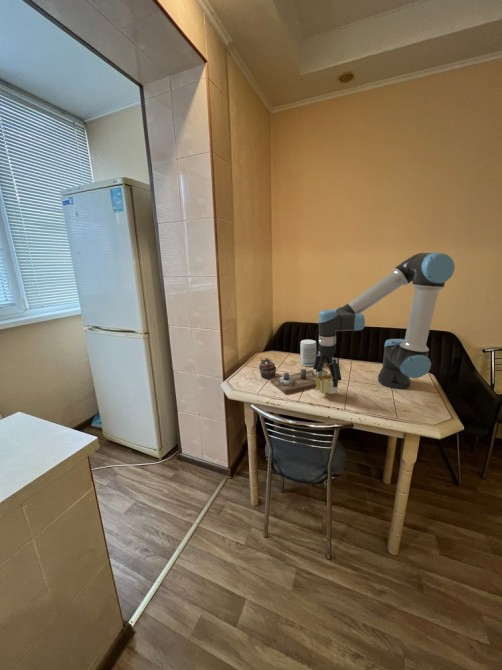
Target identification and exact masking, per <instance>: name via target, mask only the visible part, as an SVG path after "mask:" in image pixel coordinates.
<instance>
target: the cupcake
mask: <svg viewBox="0 0 502 670" xmlns="http://www.w3.org/2000/svg"><path fill="white" fill-rule="evenodd" d="M258 369H259V373H260V376H261V378H262V379H265V380H269V379H270V380H271V379H274V378H276V372H277V367H276V364H275V363H274V362H273V361H271V359H268V358H265V359H261V360H260V363H259V367H258Z"/></svg>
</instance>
